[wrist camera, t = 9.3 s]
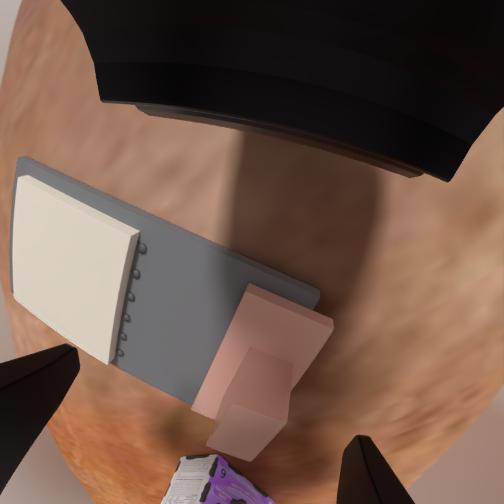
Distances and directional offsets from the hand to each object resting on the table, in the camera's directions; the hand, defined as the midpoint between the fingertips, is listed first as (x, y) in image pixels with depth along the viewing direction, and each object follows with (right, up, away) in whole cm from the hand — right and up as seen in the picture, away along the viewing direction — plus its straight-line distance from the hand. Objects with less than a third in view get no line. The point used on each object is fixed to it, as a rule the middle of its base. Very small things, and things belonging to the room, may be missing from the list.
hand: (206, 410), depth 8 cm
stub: (+1, -4, +13) cm, 13 cm away
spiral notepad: (-13, +3, +13) cm, 19 cm away
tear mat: (-9, +1, +14) cm, 17 cm away
